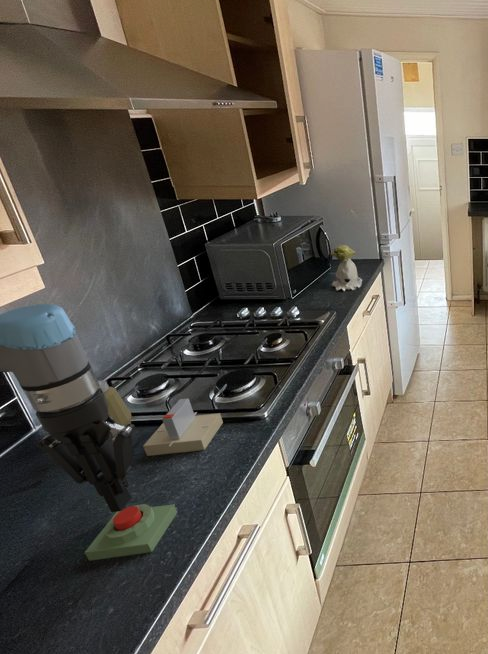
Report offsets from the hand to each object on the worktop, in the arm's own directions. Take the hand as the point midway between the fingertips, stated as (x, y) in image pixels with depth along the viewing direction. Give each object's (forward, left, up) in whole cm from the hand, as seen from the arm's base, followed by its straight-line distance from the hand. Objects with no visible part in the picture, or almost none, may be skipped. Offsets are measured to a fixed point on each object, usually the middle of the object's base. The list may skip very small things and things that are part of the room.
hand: (121, 504), depth 75 cm
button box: (0, 0, -8) cm, 8 cm away
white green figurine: (+15, +114, -8) cm, 115 cm away
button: (0, 0, -4) cm, 4 cm away
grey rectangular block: (-4, +25, -5) cm, 26 cm away
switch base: (-4, +25, -8) cm, 27 cm away
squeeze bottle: (-22, +29, -8) cm, 37 cm away
